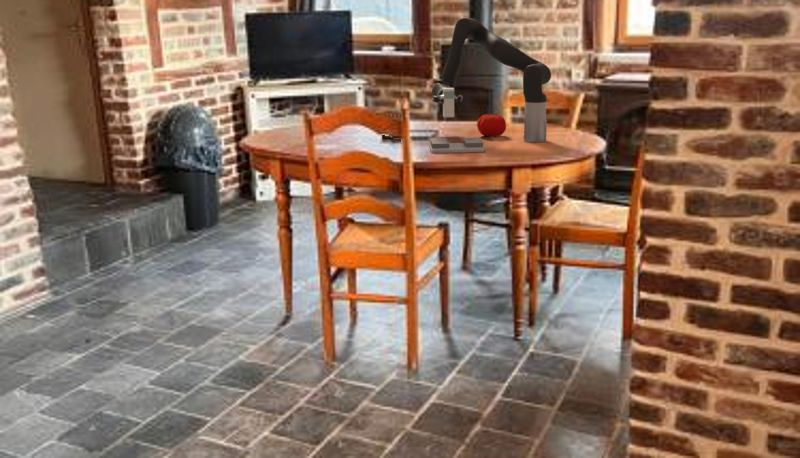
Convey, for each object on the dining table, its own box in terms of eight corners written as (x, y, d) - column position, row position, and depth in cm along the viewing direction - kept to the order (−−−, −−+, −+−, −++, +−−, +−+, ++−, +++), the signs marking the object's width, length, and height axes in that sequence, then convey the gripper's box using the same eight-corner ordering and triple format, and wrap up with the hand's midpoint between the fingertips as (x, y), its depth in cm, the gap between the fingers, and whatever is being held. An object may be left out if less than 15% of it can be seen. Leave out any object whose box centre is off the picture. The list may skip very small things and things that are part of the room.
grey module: (453, 115, 341) (453, 87, 338) (454, 117, 336) (454, 89, 333) (442, 115, 341) (442, 88, 338) (443, 117, 336) (443, 89, 333)
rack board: (479, 144, 336) (479, 136, 335) (484, 151, 320) (484, 143, 319) (429, 146, 335) (428, 138, 334) (431, 152, 320) (431, 144, 319)
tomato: (505, 134, 362) (505, 111, 359) (506, 138, 351) (506, 115, 348) (476, 134, 364) (477, 111, 361) (476, 138, 352) (476, 115, 349)
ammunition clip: (405, 138, 356) (404, 112, 353) (405, 139, 354) (404, 112, 351) (381, 138, 356) (381, 112, 353) (381, 139, 355) (380, 113, 351)
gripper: (430, 88, 349) (432, 92, 333) (461, 87, 350) (465, 91, 333) (430, 105, 352) (432, 110, 335) (461, 104, 352) (465, 109, 335)
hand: (449, 100), depth 334 cm, fingers closed on grey module, 4 cm apart
